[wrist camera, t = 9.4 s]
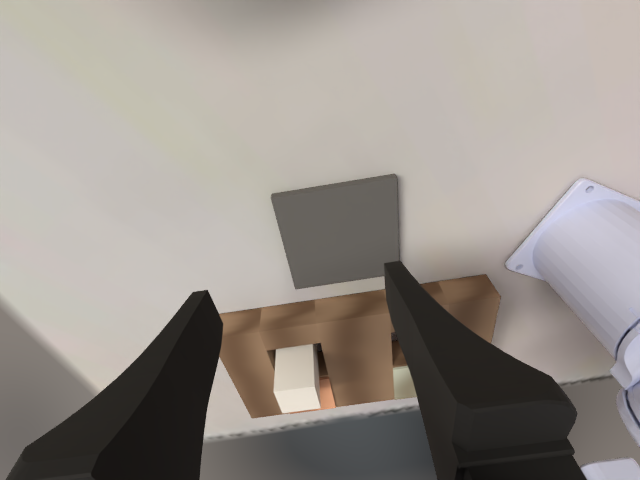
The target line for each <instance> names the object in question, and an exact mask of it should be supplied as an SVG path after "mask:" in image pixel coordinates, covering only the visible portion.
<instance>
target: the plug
mask: <svg viewBox="0 0 640 480" xmlns="http://www.w3.org/2000/svg"><path fill="white" fill-rule="evenodd" d="M274 394H275V397H276V399H277V402H278V404H279V406H280V409H281V411H282V413H289V412H297V411H304V410H312V409H319V408H321V403H320V385H319V368H318V350H317V343H316V344H309V345H302V346H295V347H288V348H281V349H276V359H275V376H274Z"/></svg>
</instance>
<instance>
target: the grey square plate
mask: <svg viewBox="0 0 640 480" xmlns="http://www.w3.org/2000/svg"><path fill="white" fill-rule="evenodd" d="M271 200H272V204H273V207H274V211H275V215H276V219H277V222H278V226H279V230H280V234H281V237H282V241H283V245H284V249H285V252H286V256H287V260H288V264H289V267H290V271H291V275H292V278H293V282H294V286H295V289H301V288H308V287H314V286H321V285H328V284H334V283H341V282H348V281H354V280H361V279H367V278H374V277H381V276H385V273H384V263H388V262H395V261H399V240H398V202H397V177H396V175H395V174H390V175H384V176H378V177H372V178H366V179H360V180H354V181H348V182H342V183H335V184H329V185H323V186H317V187H311V188H305V189H299V190H293V191H287V192H281V193H274V194H272V195H271Z"/></svg>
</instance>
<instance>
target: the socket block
mask: <svg viewBox="0 0 640 480" xmlns="http://www.w3.org/2000/svg"><path fill="white" fill-rule="evenodd" d="M420 285H421V286H422V287H423V288H424V289H425V290H426V291H427V292H428V293H429V294H430V295H431V296H432V297H433V298H434V299H435V300H436V301H437V302H438V303H439V304H440V305H441V306H442V307H443V308H444V309H446V310H447V311H448V312H449V313H450V314H451V315H452V316H454V317H455V318H456V319H457V320H458V321H460V322H461V323H462V324H464V325H465V326H466V327H467V328H469V329H470V330H472V331H473V332H474V333H476V334H477V335H478V336H480V337H481V338H483V339H485V340H486V341H488V342H489V343H491V341H492V336H493V332H494V327H495V322H496V317H497V313H498V308H499V303H500V298H501V296H500V295H499V293H498V292H497V290H496V289H495V287H494V286H493V284H492V283H491V281H490V280H489V278H488V277H487V275H486V274H485V275H478V276H472V277H465V278H458V279H451V280H445V281H438V282H431V283H425V284H420ZM219 315H220V317H221V320H222V322H223V335H222V344H221V350H220V355H219V357H220V358H221V360H222V362H223V364H224V366H225V368H226V370H227V372H228V374H229V376H230V378H231V379H232V381H233V383H234V385H235V387H236V389H237V391H238V393H239V395H240V397H241V398H242V400H243V402H244V404H245V406H246V408H247V410H248V412H249V414H250V416H251V418H258V417H266V416H273V415H281V414H288V413H282V411H281V409H280V406H279V404H278V402H277V399H276V397H275V394H274V376H275V359H276V349H281V348H288V347H295V346H302V345H309V344H316V343H321V347H322V351H321V352H318V368H319V385H320V403H321V408H319V409H312V410H304V411H297V412H289V413H290V414H293V413H300V412H308V411H315V410H323V409H330V408H336V407H340V406H348V405H355V404H363V403H370V402H378V401H385V400H392V399H395V400H397V399H405V398H412V397H417V395H416V391H415V387H414V383H413V380H412V377H411V374H410V371H409V368H408V366H407V363H406V360H405V357H404V355H403V352H402V349H401V347H400V344H399V341H392V342H391V333H393V332H395V330H394V328H393V325H392V322H391V318H390V314H389V310H388V305H387V301H386V289H384V290H378V291H371V292H364V293H357V294H351V295H344V296H337V297H331V298H324V299H317V300H310V301H304V302H297V303H290V304H284V305H277V306H270V307H263V308H257V309H250V310H243V311H236V312H230V313H223V314H219Z"/></svg>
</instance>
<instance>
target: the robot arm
mask: <svg viewBox="0 0 640 480" xmlns="http://www.w3.org/2000/svg"><path fill="white" fill-rule="evenodd" d="M588 187H589V188H588ZM587 188H588V189H587ZM586 189H587V190H586ZM505 266H506V267H507V268H508V269H509V270H511V271H515V272H518V273H521V274H524V275H527V276H531V277H534V278H537V279H540V280H544V281H547V282H548V284H549V285H550V286H551V287H552V288H553V289H554V290H555V292H556V293H557V294H558V295H559V296H560V297H561V298H562V300H563V301H564V302H565V303H566V304H567V305H568V306H569V308H570V309H571V310H572V311H573V312H574V313H575V314H576V316H577V317H578V318H579V319H580V320H581V321H582V322H583V324H584V325H585V326H586V327H587V328H588V329H589V330H590V332H591V333H592V334H593V335H594V336H595V337H596V338H597V340H598V341H599V342H600V343H601V344H602V345H603V346H604V348H605V349H606V350H607V351H608V352H609V353H610V354H611V356H612V357H613V358H614V359H615V360H616V363H615V364H614V366H613V367H612V368H611V369H610V370H609V371H610V373H611V374H612V375H613V376H614V377H615V379H616V380H617V381H618V382H619V383H620V385H621V386H622V388H621V389H620V390H619V391H618V394H617V397H616V402H617V407H618V411H619V414H620V416H621V418H622V420H623V422H624V424H625V426H626V428H627V430H628V431H629V433H630V435H631V437H632V438H633V439H634V441H635V442H636V444H637V445H638V446H639V447H640V201H639V200H636V199H634V198H632V197H629V196H627V195H625V194H622V193H620V192H618V191H615V190H613V189H610V188H608V187H606V186H603V185H601V184H599V183H596V182H594V181H592V180H589V179H587V178H581V179H579V180H577V181H576V182H575V183H574V184H573V185H572V186H571V187H570V189H569V190H568V191H567V192H566V193H565V194H564V196H563V197H562V198H561V199H560V200H559V201H558V202H557V204H556V205H555V206H554V207H553V208H552V209H551V211H550V212H549V213H548V214H547V215H546V216H545V217H544V219H543V220H542V221H541V222H540V223H539V224H538V226H537V227H536V228H535V229H534V230H533V231H532V232H531V234H530V235H529V236H528V237H527V238H526V239H525V240H524V242H523V243H522V244H521V245H520V246H519V247H518V249H517V250H516V251H515V252H514V253H513V254H512V255H511V257H510V258H509V259H508V260H507V261H506V263H505ZM384 273H385V289H386V301H387V305H388V310H389V314H390V318H391V322H392V325H393V328H394V330H395V333H396V336H397V338H398V341H399V344H400V347H401V349H402V352H403V355H404V357H405V360H406V363H407V366H408V368H409V371H410V374H411V377H412V380H413V383H414V387H415V391H416V395H417V399H418V402H419V406H420V410H421V414H422V418H423V422H424V426H425V430H426V434H427V438H428V442H429V446H430V450H431V454H432V458H433V462H434V467H435V471H436V475H437V479H438V480H640V466H639V465H638V464H637V462H636V461H635V460H634V459H633V458H630V457H626V458H617V459H609V460H601V461H593V462H589V463H586V464H583V465H582V466H580V467H579V466H578V465H577V463H576V461H575V459H574V457H573V456H572V455H573V454H574V453H575V452H574V449H573V447H572V445H571V444H570V442H569V440H568V439H567V436H568V434H569V432H570V430H571V429H572V427H573V425H574V423H575V420H576V417H577V411H576V408H575V407H574V405H573V404H572V403H571V401H570V399H569V398H568V397H567V395H566V394H565V393H564V391H563V390H562V389H561V388H560V386H559V385H558V384H557V383H556V382H555V381H554V379H553V378H552V377H551V376H549V375H547V374H545V373H543V372H541V371H539V370H537V369H535V368H533V367H531V366H529V365H527V364H525V363H523V362H521V361H519V360H517V359H516V358H514V357H512V356H510V355H508V354H507V353H505V352H503V351H502V350H500V349H499V348H497V347H495V346H494V345H492V344H491V343H489V342H488V341H486V340H485V339H483V338H481V337H480V336H478V335H477V334H476V333H474V332H473V331H472V330H470V329H469V328H467V327H466V326H465V325H464V324H462V323H461V322H460V321H458V320H457V319H456V318H455V317H454V316H452V315H451V314H450V313H449V312H448V311H447V310H446V309H444V308H443V307H442V306H441V305H440V304H439V303H438V302H437V301H436V300H435V299H434V298H433V297H432V296H431V295H430V294H429V293H428V292H427V291H426V290H425V289H424V288H423V287H422V286H421V285H420V284H419V283H418V282H417V280H416V279H415V278H414V277H413V276H412V275H411V274H410V272H409V271H408V270H407V269H406V267H405V266H404V265H403V263H402V262H400V261H395V262H388V263H384ZM222 335H223V322H222V320H221V317H220V315H219V313H218V311H217V309H216V307H215V305H214V303H213V301H212V298H211V296H210V294H209V292H208V290H204V291H198V292H193V293H192V294H191V295H190V296H189V298H188V299H187V300H186V301H185V303H184V304H183V305H182V306H181V308H180V309H179V310H178V312H177V313H176V314H175V315H174V317H173V318H172V319H171V320H170V321H169V323H168V324H167V325H166V326H165V328H164V329H163V330H162V331H161V332H160V334H159V335H158V336H157V337H156V338H155V339H154V340H153V342H152V343H151V344H150V345H149V346H148V347H147V348H146V349H145V351H144V352H143V353H142V354H141V355H140V356H139V357H138V358H137V359H136V360H135V361H134V362H133V363H132V364H131V365H130V366H129V367H128V368H127V369H126V370H125V371H124V372H123V373H122V374H121V375H120V376H119V377H118V378H117V379H115V380H114V381H113V382H112V383H111V384H110V385H108V386H107V387H106V388H105V389H104V390H103V391H102V392H100V393H99V394H98V395H97V396H96V397H95V398H94V399H92V400H91V401H90V402H88V403H87V404H86V405H85V406H83V407H82V408H81V409H80V410H78V411H77V412H76V413H74V414H73V415H71V416H70V417H69V418H68V419H66V420H65V421H63V422H62V423H61V424H59V425H58V426H56V427H55V428H54V429H52V430H51V431H49V432H48V433H46V434H45V435H43V436H42V437H40V438H39V439H37V440H36V441H34V442H33V443H31V444H30V445H28V446H27V447H25V449H24V451H23V452H22V454H21V455H20V457H19V459H18V460H17V462H16V464H15V465H14V467H13V468H12V470H11V472H10V473H9V475H8V477H7V478H6V480H199V477H200V465H201V454H202V445H203V436H204V428H205V420H206V413H207V407H208V402H209V397H210V393H211V389H212V384H213V380H214V376H215V372H216V368H217V363H218V359H219V355H220V350H221V344H222Z"/></svg>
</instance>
